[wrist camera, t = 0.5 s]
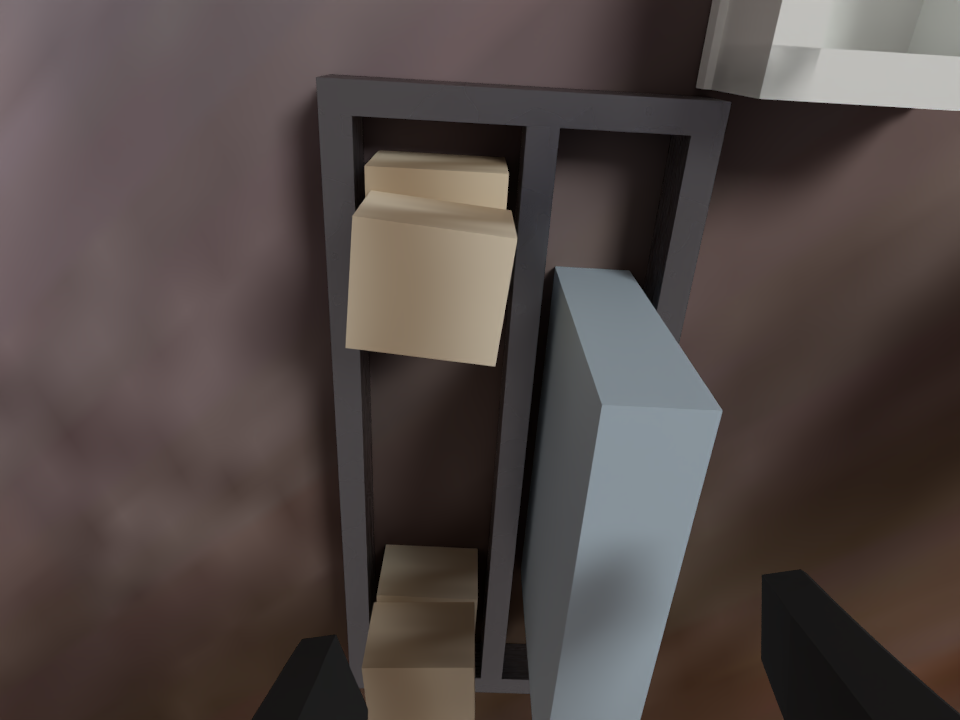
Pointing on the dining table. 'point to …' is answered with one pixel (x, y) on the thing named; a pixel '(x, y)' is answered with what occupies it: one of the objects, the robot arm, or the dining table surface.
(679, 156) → the rack
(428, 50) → the dining table surface
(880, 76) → the holder
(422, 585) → the birch offcut
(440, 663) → the birch offcut
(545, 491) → the chamfered blue-grey beam
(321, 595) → the dining table surface
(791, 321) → the dining table surface
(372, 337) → the birch offcut stack
